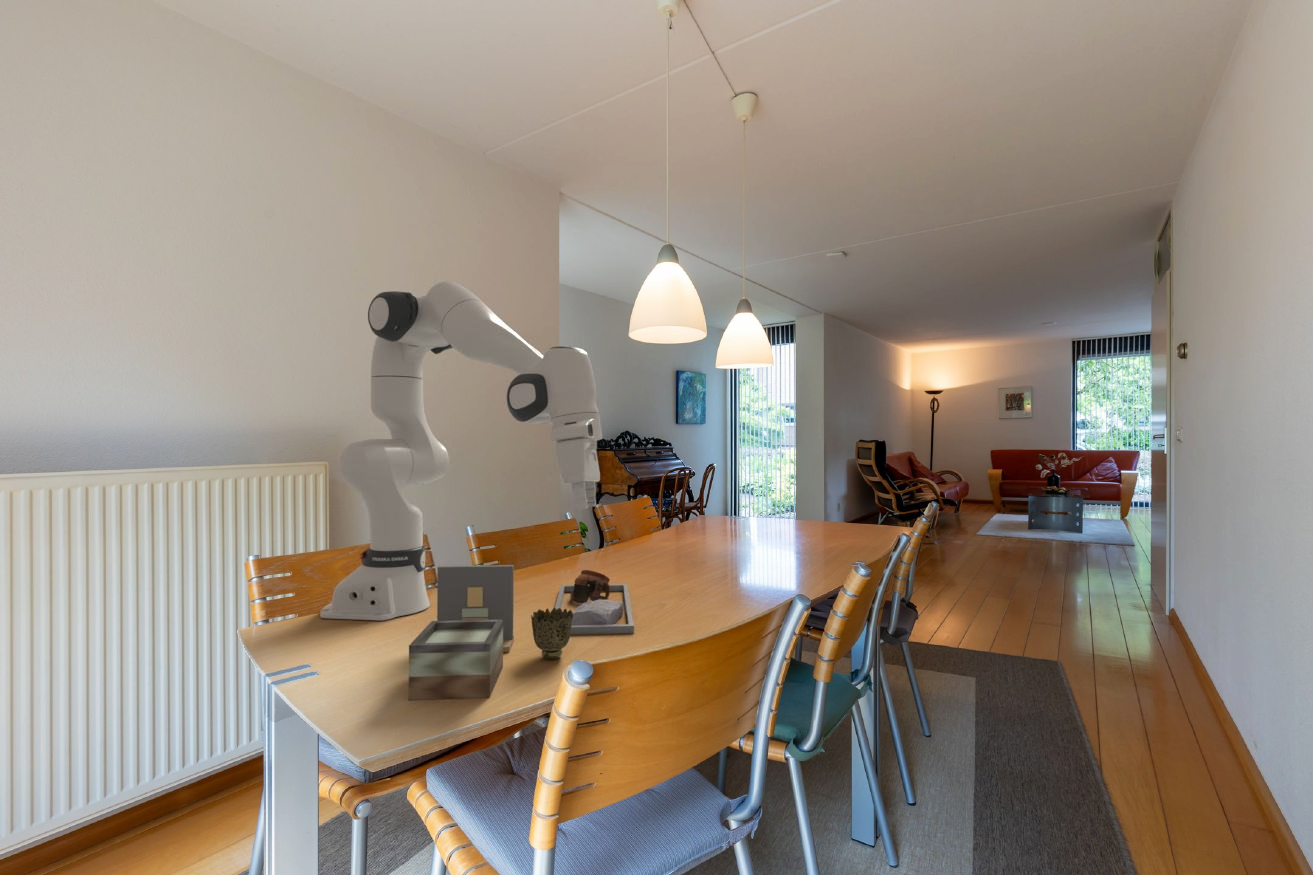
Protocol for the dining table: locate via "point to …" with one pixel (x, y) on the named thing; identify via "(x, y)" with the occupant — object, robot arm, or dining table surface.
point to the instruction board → (477, 595)
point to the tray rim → (601, 628)
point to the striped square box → (456, 659)
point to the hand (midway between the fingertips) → (587, 507)
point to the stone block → (597, 613)
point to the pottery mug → (594, 589)
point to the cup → (551, 631)
